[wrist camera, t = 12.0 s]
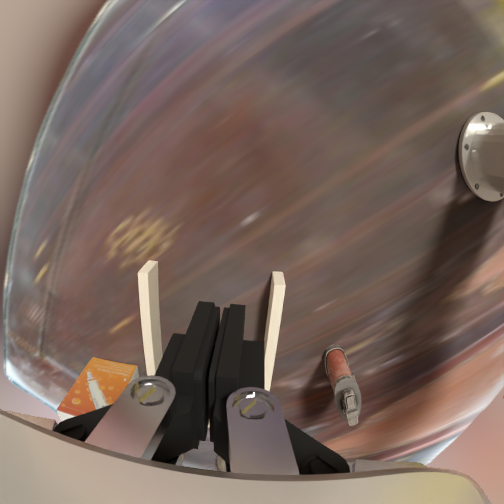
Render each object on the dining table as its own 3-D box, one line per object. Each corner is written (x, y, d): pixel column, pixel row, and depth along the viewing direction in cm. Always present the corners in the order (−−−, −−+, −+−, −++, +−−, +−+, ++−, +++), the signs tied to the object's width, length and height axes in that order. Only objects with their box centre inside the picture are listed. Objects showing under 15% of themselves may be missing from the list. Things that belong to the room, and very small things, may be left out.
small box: (138, 364, 42) (108, 426, 30) (143, 394, 44) (119, 454, 32) (91, 355, 42) (54, 410, 30) (99, 384, 44) (68, 439, 32)
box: (282, 272, 38) (289, 302, 30) (265, 392, 43) (266, 431, 36) (148, 260, 37) (125, 286, 30) (157, 381, 43) (143, 417, 36)
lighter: (350, 381, 43) (367, 428, 33) (329, 387, 43) (342, 436, 34) (343, 341, 41) (364, 388, 31) (320, 348, 41) (335, 397, 31)
